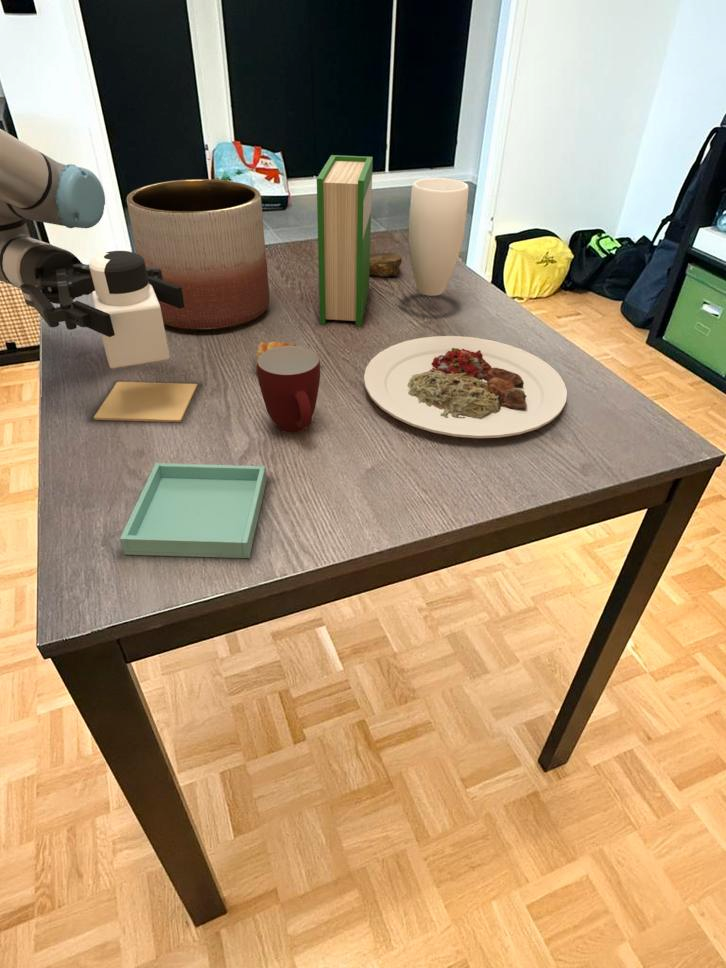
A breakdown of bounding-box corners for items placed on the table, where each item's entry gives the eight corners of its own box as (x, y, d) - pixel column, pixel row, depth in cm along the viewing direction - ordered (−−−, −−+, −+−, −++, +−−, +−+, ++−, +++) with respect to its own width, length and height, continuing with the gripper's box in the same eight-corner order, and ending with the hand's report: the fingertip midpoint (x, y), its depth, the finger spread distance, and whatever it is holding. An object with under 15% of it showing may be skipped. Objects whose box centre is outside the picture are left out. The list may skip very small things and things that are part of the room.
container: (161, 336, 89) (143, 243, 80) (170, 360, 83) (152, 262, 75) (104, 344, 86) (80, 249, 78) (110, 369, 81) (84, 270, 72)
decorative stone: (349, 275, 131) (349, 258, 129) (357, 260, 138) (357, 244, 136) (398, 279, 130) (399, 262, 128) (404, 264, 137) (405, 247, 135)
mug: (341, 440, 83) (341, 373, 77) (287, 458, 80) (282, 390, 73) (304, 404, 90) (301, 340, 84) (252, 419, 86) (246, 354, 80)
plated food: (416, 467, 79) (418, 445, 77) (335, 362, 100) (335, 343, 98) (607, 422, 88) (614, 402, 86) (495, 335, 110) (498, 317, 107)
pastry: (317, 358, 101) (317, 336, 99) (315, 378, 96) (314, 356, 94) (260, 356, 101) (258, 335, 99) (254, 377, 96) (252, 354, 94)
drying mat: (94, 419, 86) (93, 417, 85) (117, 383, 93) (117, 381, 93) (181, 422, 86) (180, 419, 85) (197, 386, 93) (197, 383, 93)
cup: (395, 312, 116) (402, 188, 103) (410, 292, 124) (418, 174, 111) (450, 320, 114) (464, 194, 101) (461, 299, 122) (476, 180, 108)
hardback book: (360, 326, 111) (363, 180, 96) (319, 323, 112) (316, 178, 97) (368, 289, 125) (372, 156, 110) (332, 287, 125) (331, 155, 110)
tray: (124, 554, 66) (119, 538, 64) (159, 477, 76) (155, 462, 74) (249, 558, 66) (247, 542, 64) (266, 481, 76) (265, 465, 74)
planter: (277, 289, 124) (270, 180, 111) (261, 338, 107) (250, 215, 94) (166, 286, 124) (147, 176, 111) (132, 334, 107) (105, 211, 94)
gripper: (119, 274, 98) (217, 310, 88) (-24, 322, 83) (74, 372, 73) (107, 225, 93) (210, 257, 83) (-46, 266, 79) (56, 311, 69)
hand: (146, 311), depth 78 cm, fingers closed on container, 10 cm apart
